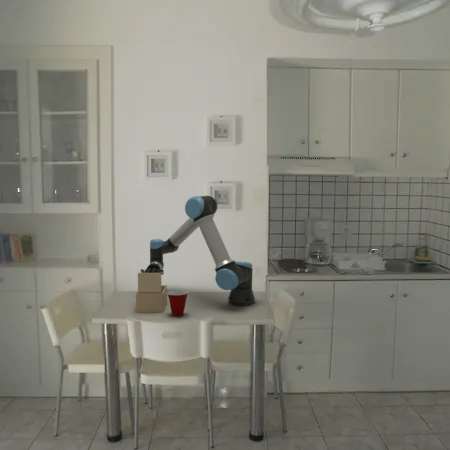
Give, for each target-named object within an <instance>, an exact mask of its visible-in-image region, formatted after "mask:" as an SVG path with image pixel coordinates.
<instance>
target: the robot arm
mask: <svg viewBox="0 0 450 450" xmlns="http://www.w3.org/2000/svg"><path fill="white" fill-rule="evenodd" d="M184 210H185V214H186V215H187V217H188V219H187V220H186V221H185V222H184V223H182V225H181V226H179V228H177V230H176V231H175V232H174V233H173V234H171V236H170V237H169V238H168V239H167V240H164V241H163V239H161V238H155V239H154V238H153V239H150V242H149V264H148V266H147V267H146V269H142V268H141V269H140V273H161V276H163V275H164V274H165V273H164V272H165V270H164V265H165V263H164V255H167V254H171V253H175V252H177V251H178V250H179V248H180V245H181V244H183V243H184V241H185V240H187V239H188V238H189V237H190V236H191V235H192V234H193V233H194V232H196V230H197V229H198V228H199V229H200V232H201V234H202V237H203V238H204V241H205V244H206V245H207V248H208V250H209V252H210V254H211V255H210V256H211V257H212V259H213V261H214V264H215V268H214V271H215V278H214V279H215V282H216V285H217V286H218V287H219V288H220V289H222V290H224V291H229V295H228V297H227V298H228V299H227V303H229V304H230V305H234V306H241V305H244V306H251V305H250V304H252V305H254V304H255V303H256V298H255V295H254V291H253V264H252V263H251V262H246V261H235V260H234V259H232V258H231V257H230V254H229V252H228V250H227V247H226V246H225V243H224V241H223V238H222V236H221V234H220V232H219V230H218V227H217V225H216V223H215V221H214V217H215V214H216V212H217V211H218V202H217V200H216V199H215V198H214V197H213V196H210V195H196V196H191V197H189V198H188V199H187V201H186V202H185V205H184ZM253 303H254V304H253Z"/></svg>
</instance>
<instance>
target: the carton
mask: <svg viewBox="0 0 450 450" xmlns="http://www.w3.org/2000/svg"><path fill="white" fill-rule="evenodd" d="M167 292H168V285H167V284H166V285H162V284H161V292H138V290H137V291H136V293H135V300H136V301H135V312H136V313H164V312H165V309H166V306H167V305H168V304H167V303H168V294H167Z"/></svg>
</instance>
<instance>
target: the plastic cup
mask: <svg viewBox="0 0 450 450" xmlns="http://www.w3.org/2000/svg"><path fill="white" fill-rule="evenodd" d="M188 294H189V291H186V290H173V291H167V298H168V300H169V307H170V311H171V313H170V314H171V315H172V316H173V317H182V316H184V314H185V309H186V302H187V297H188Z"/></svg>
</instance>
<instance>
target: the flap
mask: <svg viewBox="0 0 450 450" xmlns="http://www.w3.org/2000/svg"><path fill="white" fill-rule="evenodd" d="M161 285H162V275H161V273H141V272H137V291H138V292H161Z"/></svg>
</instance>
